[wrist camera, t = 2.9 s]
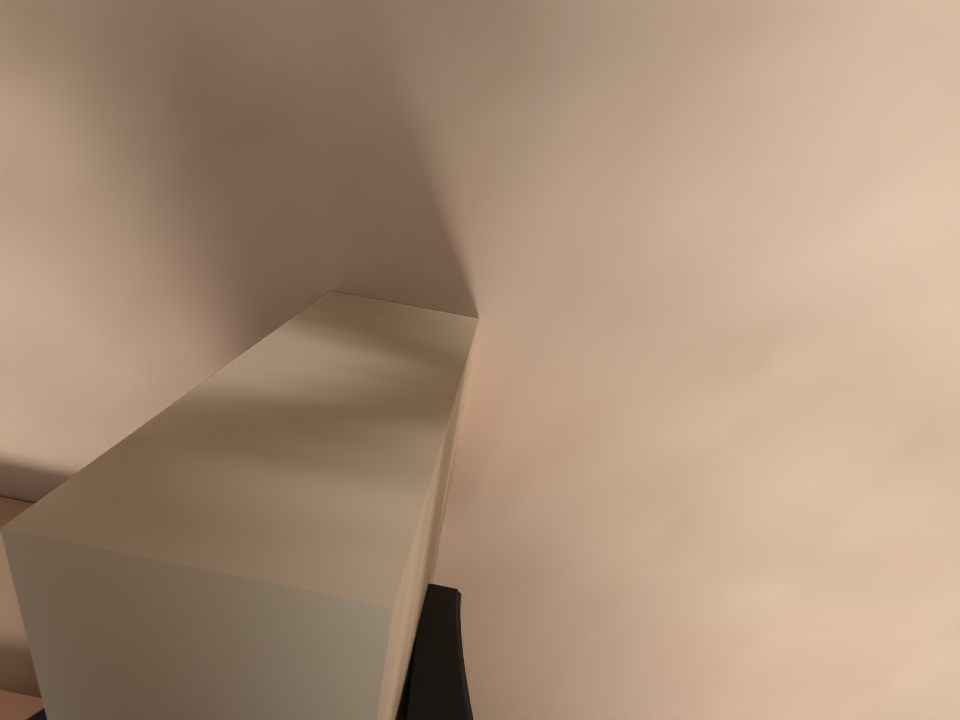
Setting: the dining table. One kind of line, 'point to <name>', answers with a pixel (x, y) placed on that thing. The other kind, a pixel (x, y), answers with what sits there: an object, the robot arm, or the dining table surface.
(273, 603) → the tall cream pillar
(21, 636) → the brown wooden board
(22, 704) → the peach rectangular block
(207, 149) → the dining table surface
